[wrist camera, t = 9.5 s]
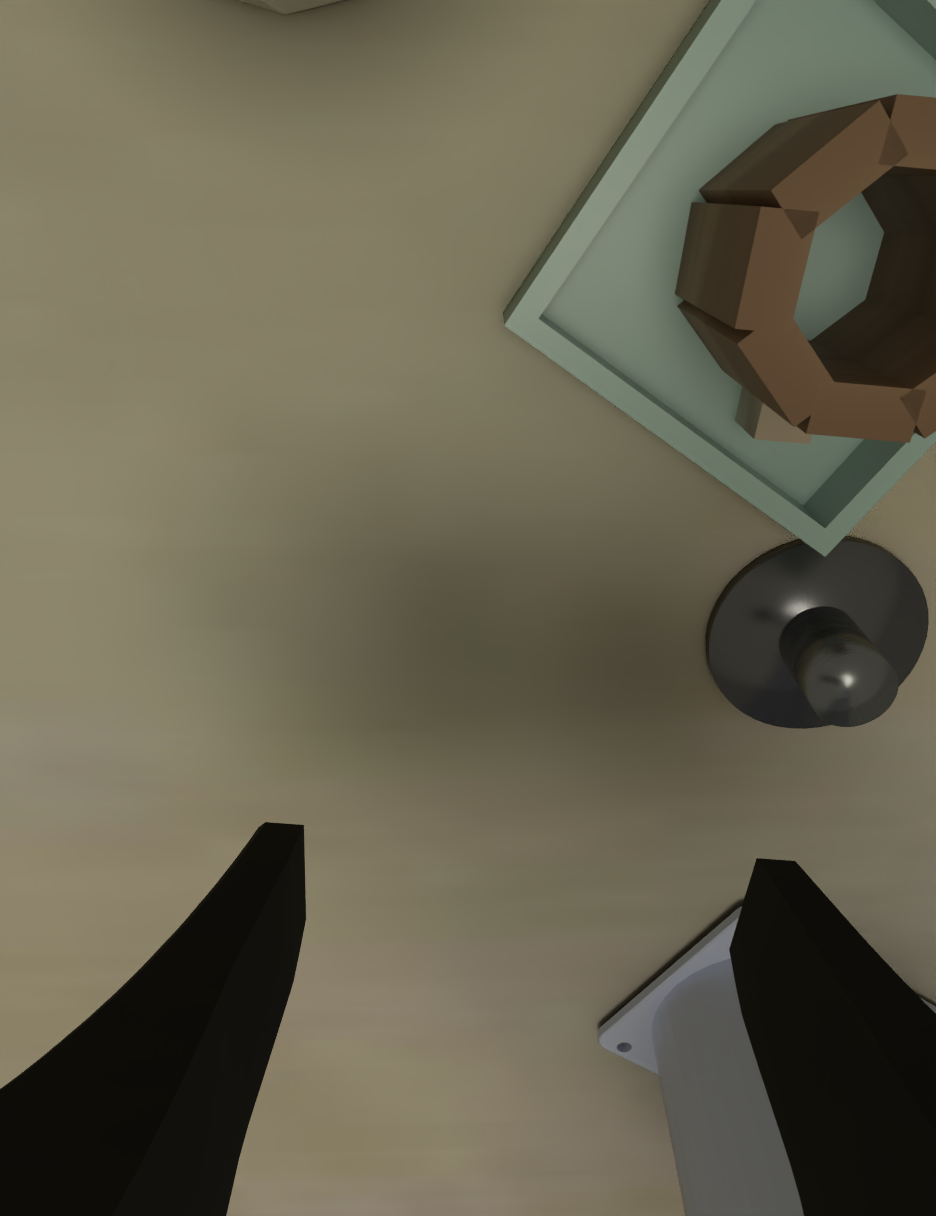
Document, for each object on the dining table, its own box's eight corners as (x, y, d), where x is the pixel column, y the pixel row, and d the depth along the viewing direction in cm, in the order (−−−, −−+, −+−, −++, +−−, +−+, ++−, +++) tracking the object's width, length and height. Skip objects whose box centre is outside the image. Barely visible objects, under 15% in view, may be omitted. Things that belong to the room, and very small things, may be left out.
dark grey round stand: (967, 609, 22) (1031, 666, 19) (813, 752, 24) (852, 820, 21) (811, 493, 20) (856, 538, 18) (662, 655, 23) (684, 715, 20)
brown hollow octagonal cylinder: (707, 112, 16) (787, 84, 12) (957, 135, 17) (1129, 114, 12) (652, 413, 19) (701, 481, 15) (867, 432, 19) (980, 505, 15)
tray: (1103, 192, 17) (1174, 193, 16) (796, 525, 21) (825, 556, 19) (786, -115, 15) (824, -154, 13) (503, 312, 19) (504, 325, 17)
